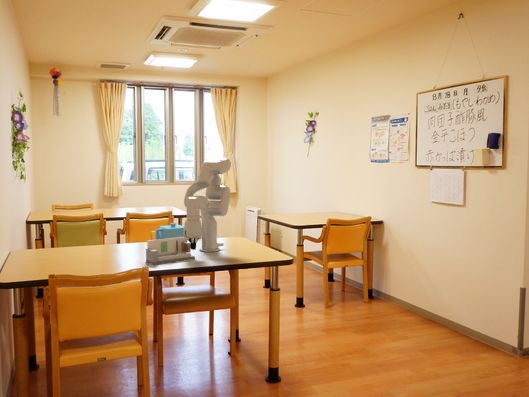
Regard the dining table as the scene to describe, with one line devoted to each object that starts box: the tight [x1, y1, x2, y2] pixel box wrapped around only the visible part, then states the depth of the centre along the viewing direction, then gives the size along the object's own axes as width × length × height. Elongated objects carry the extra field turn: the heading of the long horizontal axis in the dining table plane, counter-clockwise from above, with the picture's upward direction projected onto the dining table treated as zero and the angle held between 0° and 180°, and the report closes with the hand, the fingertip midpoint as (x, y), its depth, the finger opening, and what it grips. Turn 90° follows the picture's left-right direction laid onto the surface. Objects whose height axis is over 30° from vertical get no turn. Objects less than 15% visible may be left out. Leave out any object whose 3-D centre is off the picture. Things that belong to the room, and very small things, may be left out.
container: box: [154, 222, 188, 243], centre depth 333 cm, size 17×25×15 cm
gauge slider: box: [174, 241, 192, 255], centre depth 290 cm, size 8×8×8 cm
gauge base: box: [145, 237, 196, 266], centre depth 286 cm, size 26×10×12 cm, turn 127°
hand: (193, 249), depth 293 cm, fingers closed
